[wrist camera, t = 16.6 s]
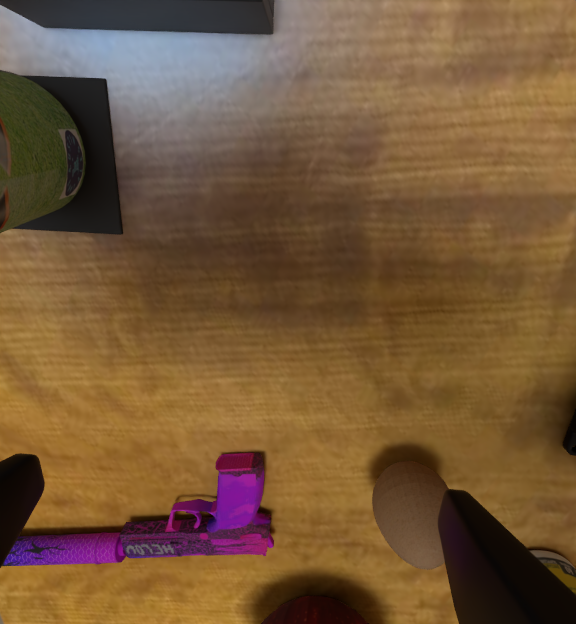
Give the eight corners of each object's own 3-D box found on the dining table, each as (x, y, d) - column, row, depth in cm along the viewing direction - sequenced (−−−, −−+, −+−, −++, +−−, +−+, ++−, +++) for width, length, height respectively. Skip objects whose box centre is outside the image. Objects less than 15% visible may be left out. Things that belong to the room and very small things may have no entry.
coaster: (106, 79, 17) (103, 78, 17) (123, 234, 20) (121, 234, 20) (-41, 74, 18) (-45, 73, 18) (-7, 226, 20) (-9, 227, 20)
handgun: (264, 448, 24) (260, 471, 22) (281, 537, 27) (279, 563, 25) (-28, 471, 27) (-53, 493, 25) (15, 551, 29) (-5, 576, 27)
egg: (442, 494, 24) (480, 590, 19) (373, 502, 25) (389, 598, 20) (435, 437, 23) (474, 524, 17) (361, 448, 24) (375, 535, 18)
